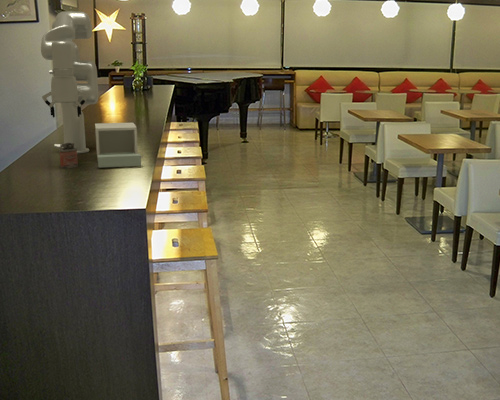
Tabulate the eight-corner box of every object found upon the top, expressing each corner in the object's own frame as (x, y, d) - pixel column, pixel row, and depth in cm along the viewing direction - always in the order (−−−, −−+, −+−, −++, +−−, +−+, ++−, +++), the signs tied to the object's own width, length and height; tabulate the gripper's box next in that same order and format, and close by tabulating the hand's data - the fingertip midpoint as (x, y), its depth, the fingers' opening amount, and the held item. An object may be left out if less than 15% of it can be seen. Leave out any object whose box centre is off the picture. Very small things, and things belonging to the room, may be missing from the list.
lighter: (75, 165, 249) (73, 141, 247) (80, 166, 247) (78, 142, 245) (58, 167, 243) (56, 143, 241) (63, 169, 241) (61, 144, 239)
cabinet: (138, 160, 260) (136, 127, 256) (97, 162, 255) (95, 128, 252) (134, 153, 277) (133, 122, 273) (96, 155, 272) (95, 123, 269)
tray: (141, 165, 244) (140, 155, 243) (98, 167, 240) (98, 157, 239) (137, 157, 263) (136, 147, 262) (97, 159, 259) (96, 149, 258)
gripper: (39, 73, 230) (43, 118, 234) (86, 73, 235) (88, 117, 239) (40, 73, 237) (44, 116, 241) (85, 73, 242) (88, 115, 246)
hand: (66, 116), depth 240 cm, fingers open, 9 cm apart
